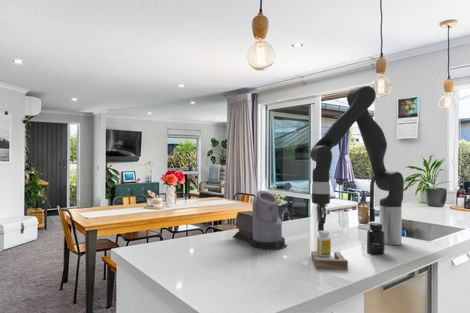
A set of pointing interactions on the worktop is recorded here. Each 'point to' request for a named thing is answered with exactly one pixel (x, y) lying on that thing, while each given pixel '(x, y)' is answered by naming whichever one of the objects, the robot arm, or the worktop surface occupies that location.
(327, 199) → the robot arm
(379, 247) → the supplement bottle
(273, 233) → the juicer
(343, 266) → the walnut U-rest
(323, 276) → the worktop surface
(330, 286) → the worktop surface
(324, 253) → the supplement bottle
